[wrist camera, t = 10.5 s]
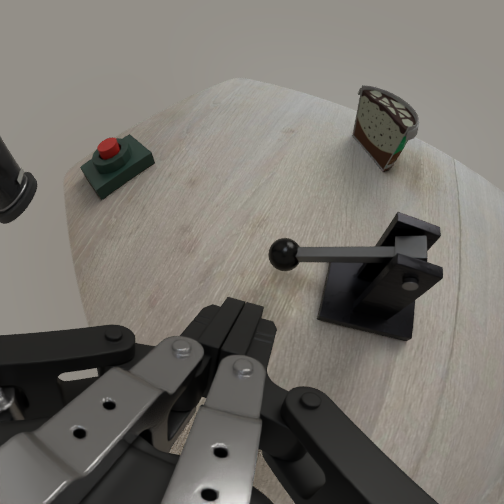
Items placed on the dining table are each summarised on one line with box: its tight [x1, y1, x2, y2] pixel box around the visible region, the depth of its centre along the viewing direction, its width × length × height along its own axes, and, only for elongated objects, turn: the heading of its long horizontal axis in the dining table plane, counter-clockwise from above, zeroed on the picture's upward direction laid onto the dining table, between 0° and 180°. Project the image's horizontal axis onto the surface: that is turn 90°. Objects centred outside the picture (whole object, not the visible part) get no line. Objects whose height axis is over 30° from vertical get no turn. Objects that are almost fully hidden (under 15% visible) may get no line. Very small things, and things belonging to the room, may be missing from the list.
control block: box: [80, 134, 155, 200], centre depth 38 cm, size 10×8×4 cm
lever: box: [268, 236, 427, 271], centre depth 24 cm, size 15×3×3 cm, turn 72°
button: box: [97, 138, 120, 160], centre depth 36 cm, size 3×3×2 cm
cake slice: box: [352, 86, 419, 172], centre depth 38 cm, size 12×6×10 cm, turn 19°
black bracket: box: [317, 212, 443, 341], centre depth 24 cm, size 11×8×12 cm
